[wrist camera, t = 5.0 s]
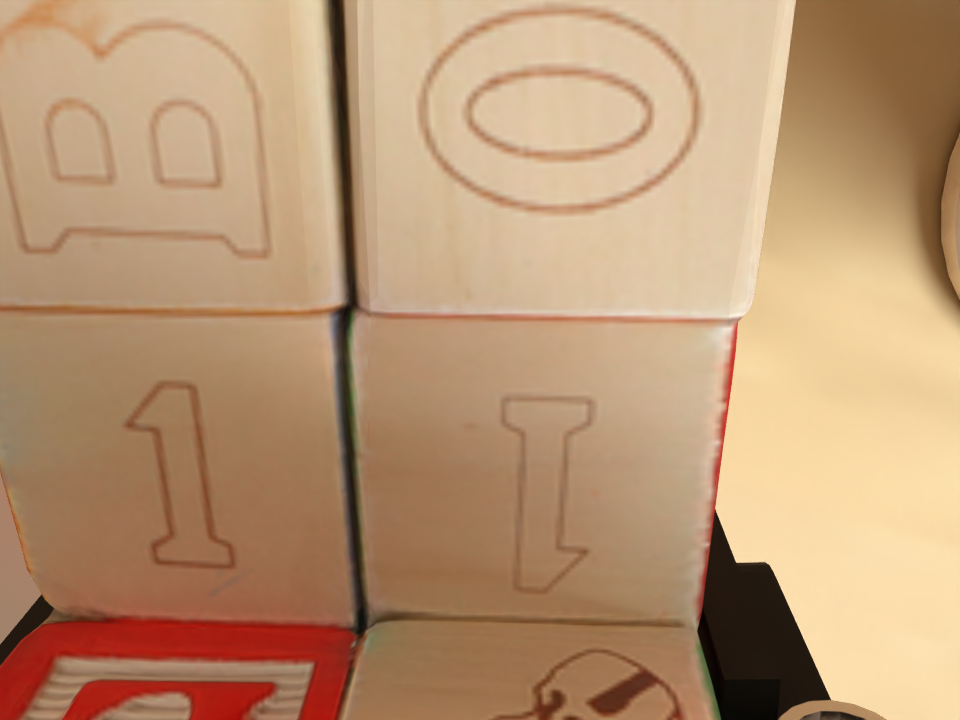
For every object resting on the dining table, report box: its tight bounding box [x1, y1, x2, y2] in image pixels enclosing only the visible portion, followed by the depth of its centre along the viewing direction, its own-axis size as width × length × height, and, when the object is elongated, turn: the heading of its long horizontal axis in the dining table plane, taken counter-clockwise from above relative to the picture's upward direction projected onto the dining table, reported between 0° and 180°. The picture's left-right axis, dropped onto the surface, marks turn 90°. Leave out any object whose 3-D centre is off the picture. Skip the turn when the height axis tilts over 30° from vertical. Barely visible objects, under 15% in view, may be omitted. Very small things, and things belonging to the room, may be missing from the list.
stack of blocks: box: [0, 0, 796, 720], centre depth 11 cm, size 21×6×12 cm, turn 0°
